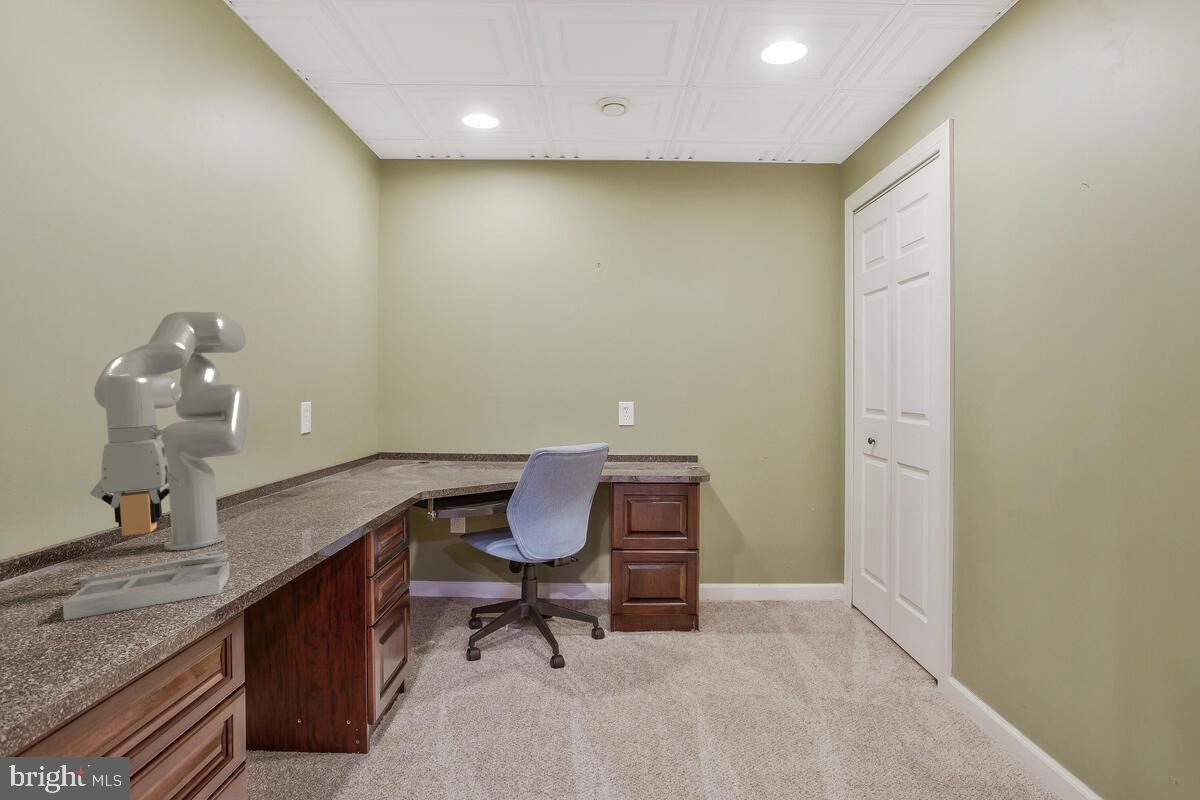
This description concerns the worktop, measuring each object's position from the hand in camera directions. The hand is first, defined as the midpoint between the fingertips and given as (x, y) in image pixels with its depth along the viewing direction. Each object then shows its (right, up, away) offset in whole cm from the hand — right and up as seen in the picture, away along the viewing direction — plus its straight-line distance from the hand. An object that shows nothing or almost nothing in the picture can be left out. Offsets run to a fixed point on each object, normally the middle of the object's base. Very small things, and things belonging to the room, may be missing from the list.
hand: (139, 522), depth 111 cm
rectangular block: (0, -2, 0) cm, 2 cm away
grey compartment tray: (+11, -12, -9) cm, 18 cm away
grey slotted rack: (-2, -13, +8) cm, 15 cm away
